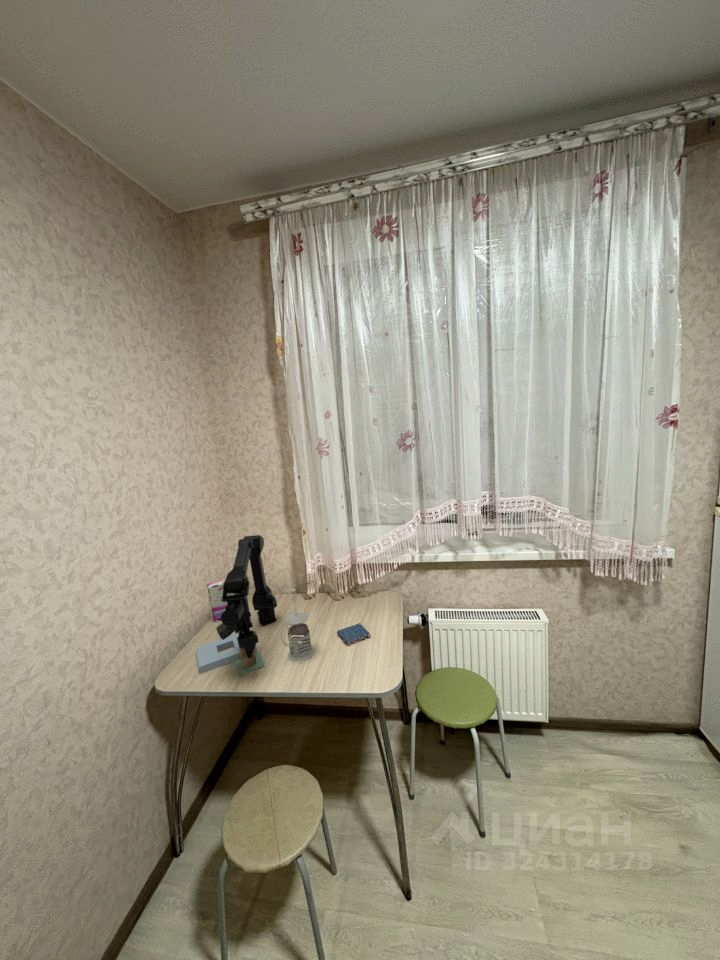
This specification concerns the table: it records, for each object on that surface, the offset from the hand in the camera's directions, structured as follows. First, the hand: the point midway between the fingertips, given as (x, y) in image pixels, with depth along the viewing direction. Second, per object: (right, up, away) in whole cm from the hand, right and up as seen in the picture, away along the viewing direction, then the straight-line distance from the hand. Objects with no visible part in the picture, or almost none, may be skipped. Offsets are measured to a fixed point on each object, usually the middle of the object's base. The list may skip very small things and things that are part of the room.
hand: (247, 651), depth 134 cm
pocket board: (-10, -5, +9) cm, 14 cm away
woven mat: (+37, 0, +12) cm, 39 cm away
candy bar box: (-20, -1, +37) cm, 42 cm away
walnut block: (0, -5, +1) cm, 5 cm away
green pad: (+1, -5, +1) cm, 5 cm away
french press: (+18, -3, +4) cm, 18 cm away
